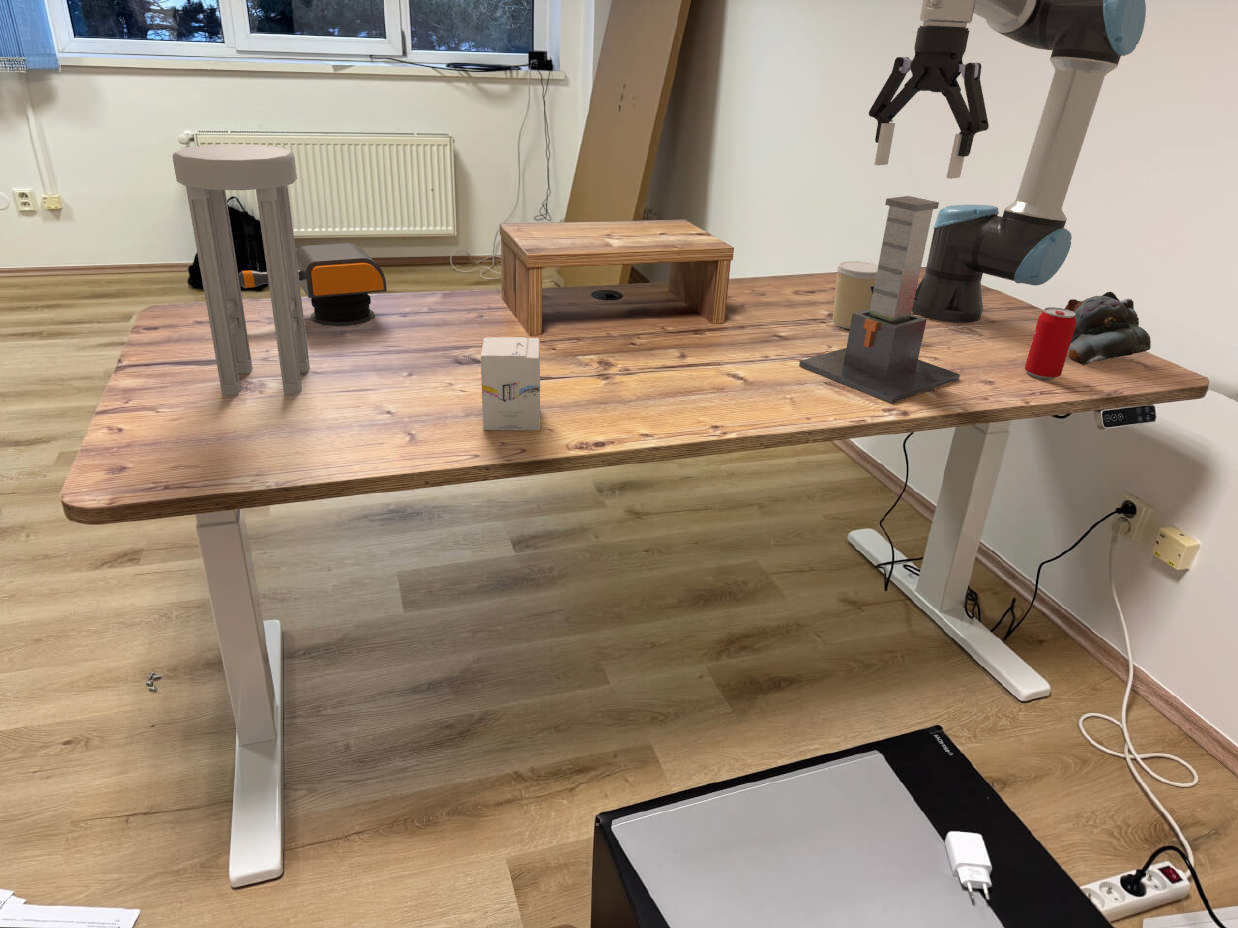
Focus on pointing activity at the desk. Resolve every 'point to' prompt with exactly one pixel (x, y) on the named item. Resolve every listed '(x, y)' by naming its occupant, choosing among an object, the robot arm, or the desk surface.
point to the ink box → (510, 383)
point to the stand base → (882, 360)
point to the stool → (206, 185)
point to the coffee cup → (853, 290)
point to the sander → (333, 282)
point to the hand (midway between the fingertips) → (915, 171)
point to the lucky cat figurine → (1105, 329)
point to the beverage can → (1050, 343)
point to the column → (901, 258)
